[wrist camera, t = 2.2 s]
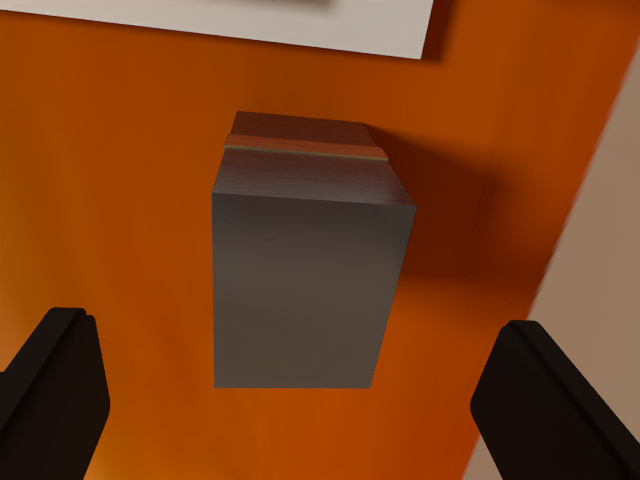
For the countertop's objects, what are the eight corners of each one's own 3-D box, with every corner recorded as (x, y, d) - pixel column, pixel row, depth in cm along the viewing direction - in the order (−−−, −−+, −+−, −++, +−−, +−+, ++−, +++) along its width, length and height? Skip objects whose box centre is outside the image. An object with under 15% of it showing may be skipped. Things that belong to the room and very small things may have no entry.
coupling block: (233, 254, 18) (212, 388, 12) (235, 109, 15) (209, 190, 9) (339, 259, 18) (371, 389, 12) (363, 121, 15) (419, 204, 9)
